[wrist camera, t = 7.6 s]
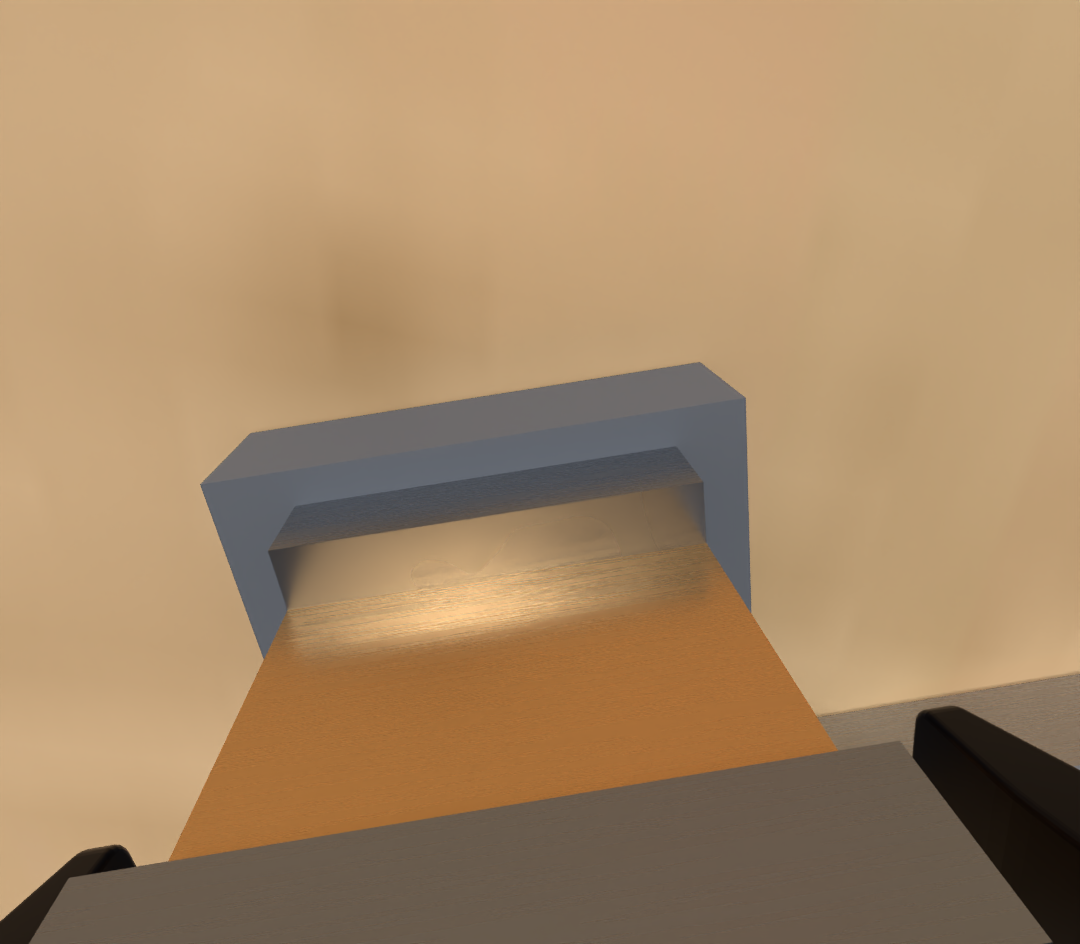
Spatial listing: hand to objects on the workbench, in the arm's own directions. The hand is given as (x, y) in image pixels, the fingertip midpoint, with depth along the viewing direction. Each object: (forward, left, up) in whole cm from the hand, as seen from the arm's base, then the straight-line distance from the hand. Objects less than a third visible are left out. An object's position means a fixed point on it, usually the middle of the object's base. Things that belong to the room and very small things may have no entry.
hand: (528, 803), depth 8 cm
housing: (0, 0, -2) cm, 2 cm away
